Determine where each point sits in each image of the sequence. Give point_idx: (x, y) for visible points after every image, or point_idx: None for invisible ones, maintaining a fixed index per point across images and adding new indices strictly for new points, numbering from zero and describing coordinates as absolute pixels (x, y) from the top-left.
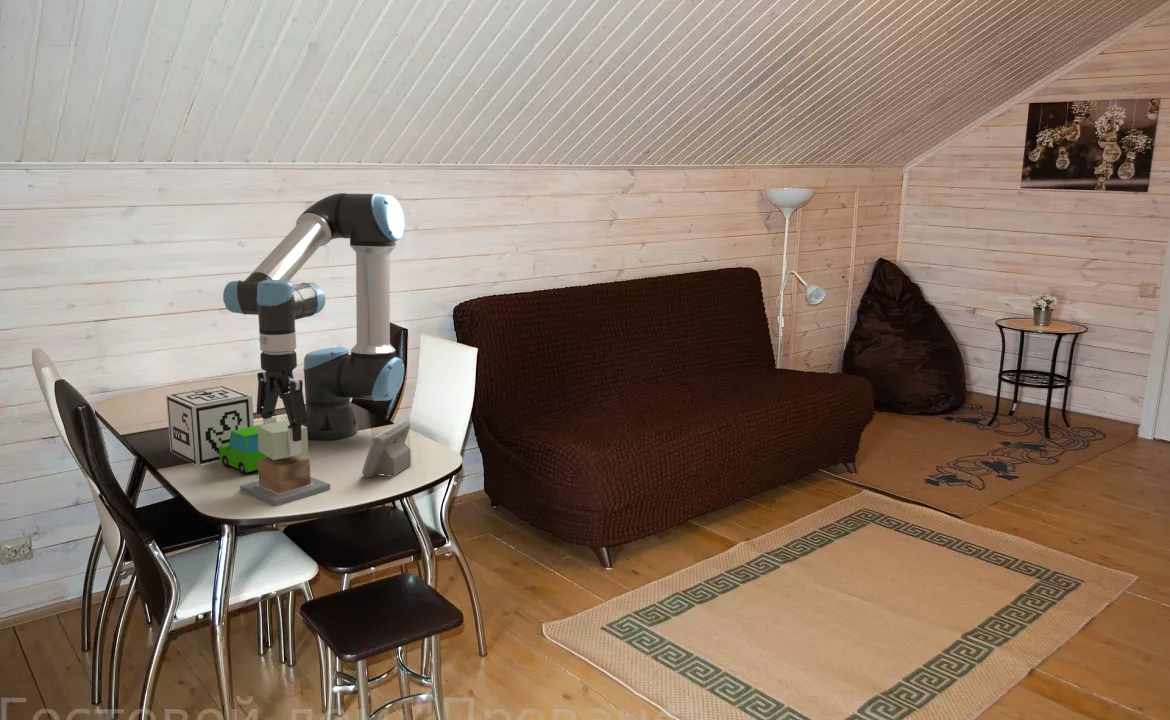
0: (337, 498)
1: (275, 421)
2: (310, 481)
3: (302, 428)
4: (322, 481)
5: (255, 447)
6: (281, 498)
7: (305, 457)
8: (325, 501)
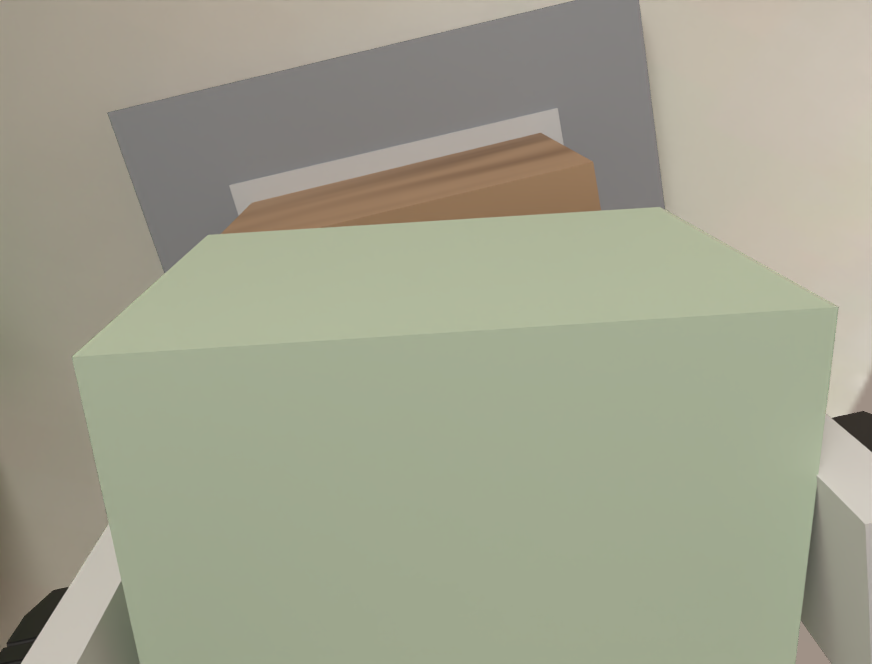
0: (847, 32)
1: (99, 651)
2: (544, 135)
3: (821, 399)
4: (531, 14)
5: None
6: None
7: (520, 181)
8: (836, 138)
